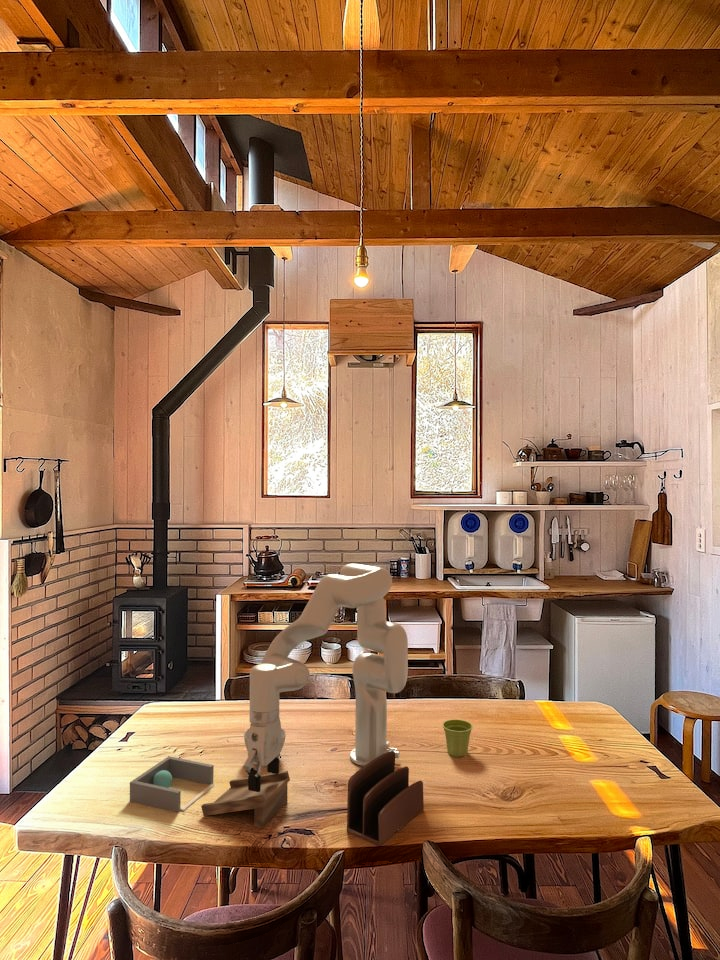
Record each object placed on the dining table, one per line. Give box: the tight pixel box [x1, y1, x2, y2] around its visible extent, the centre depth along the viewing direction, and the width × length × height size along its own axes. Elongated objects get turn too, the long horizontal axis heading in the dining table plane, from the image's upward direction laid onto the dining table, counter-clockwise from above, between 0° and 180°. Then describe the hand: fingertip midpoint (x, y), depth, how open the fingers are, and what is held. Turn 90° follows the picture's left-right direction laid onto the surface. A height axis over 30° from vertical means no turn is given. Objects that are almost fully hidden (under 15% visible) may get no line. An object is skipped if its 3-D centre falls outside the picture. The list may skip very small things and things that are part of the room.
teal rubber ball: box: [153, 770, 173, 788], centre depth 166 cm, size 5×5×5 cm
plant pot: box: [442, 718, 474, 758], centre depth 189 cm, size 9×9×9 cm
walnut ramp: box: [200, 770, 291, 829], centre depth 157 cm, size 18×14×8 cm
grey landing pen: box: [129, 756, 215, 813], centre depth 164 cm, size 16×16×5 cm
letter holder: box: [346, 751, 425, 847], centre depth 152 cm, size 10×20×14 cm, turn 143°
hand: (264, 781), depth 155 cm, fingers open, 9 cm apart
